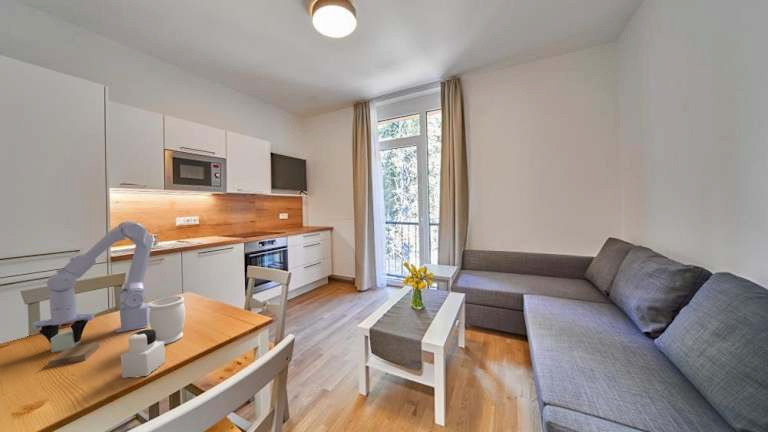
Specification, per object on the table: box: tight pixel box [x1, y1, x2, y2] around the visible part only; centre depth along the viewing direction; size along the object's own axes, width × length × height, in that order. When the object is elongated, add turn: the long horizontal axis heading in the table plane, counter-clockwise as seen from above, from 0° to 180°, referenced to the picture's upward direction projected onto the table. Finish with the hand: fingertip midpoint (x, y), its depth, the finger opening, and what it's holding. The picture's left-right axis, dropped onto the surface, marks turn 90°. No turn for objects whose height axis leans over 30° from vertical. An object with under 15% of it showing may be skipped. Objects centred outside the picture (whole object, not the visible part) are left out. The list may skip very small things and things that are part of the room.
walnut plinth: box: [48, 342, 100, 368], centre depth 85 cm, size 8×8×2 cm
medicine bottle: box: [120, 328, 166, 379], centre depth 78 cm, size 7×7×12 cm
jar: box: [148, 295, 186, 345], centre depth 96 cm, size 11×10×15 cm
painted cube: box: [50, 329, 82, 353], centre depth 91 cm, size 5×5×5 cm
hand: (66, 343), depth 91 cm, fingers closed on painted cube, 5 cm apart
